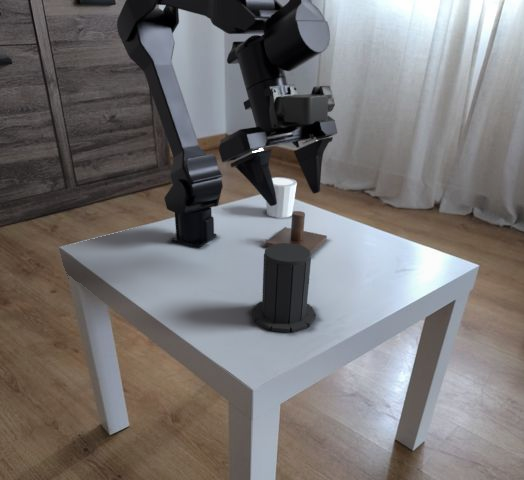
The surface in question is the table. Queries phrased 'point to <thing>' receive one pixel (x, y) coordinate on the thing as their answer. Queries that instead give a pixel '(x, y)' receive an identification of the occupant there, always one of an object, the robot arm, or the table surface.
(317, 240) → the hat stand
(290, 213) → the white cup
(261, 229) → the table surface
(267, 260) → the hat
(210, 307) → the table surface
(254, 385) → the table surface
